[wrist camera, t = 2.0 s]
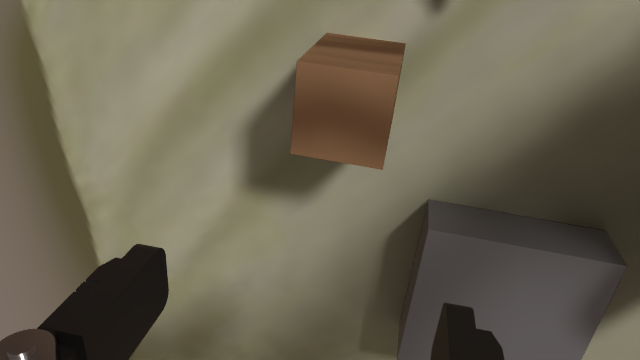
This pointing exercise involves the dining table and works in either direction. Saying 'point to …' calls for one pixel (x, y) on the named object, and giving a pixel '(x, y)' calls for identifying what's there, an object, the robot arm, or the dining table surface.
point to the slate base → (509, 281)
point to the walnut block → (346, 99)
